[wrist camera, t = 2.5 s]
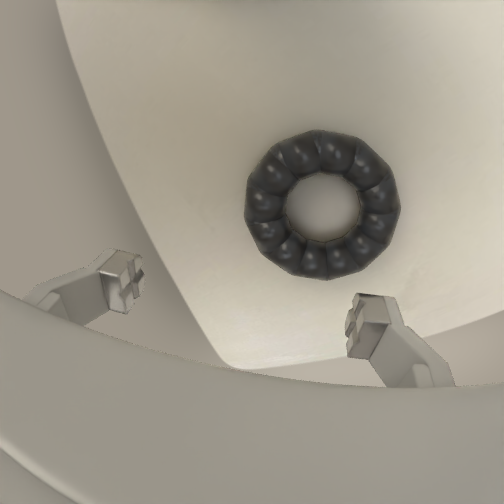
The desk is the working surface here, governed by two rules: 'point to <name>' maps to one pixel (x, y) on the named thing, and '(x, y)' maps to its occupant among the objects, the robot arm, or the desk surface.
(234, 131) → the desk surface
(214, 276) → the desk surface
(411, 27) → the desk surface
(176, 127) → the desk surface
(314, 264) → the ring
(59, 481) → the robot arm
